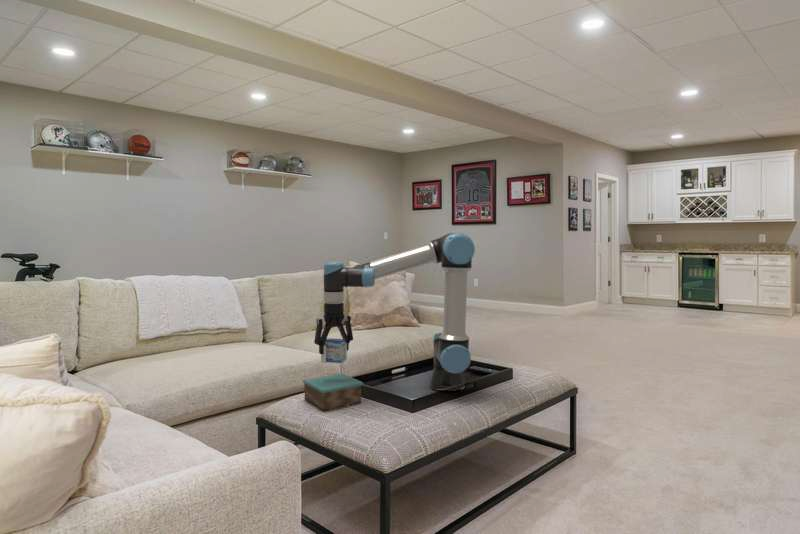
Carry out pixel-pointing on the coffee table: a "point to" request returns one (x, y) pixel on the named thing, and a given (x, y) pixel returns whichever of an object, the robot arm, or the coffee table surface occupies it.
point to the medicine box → (335, 350)
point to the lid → (332, 383)
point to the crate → (332, 397)
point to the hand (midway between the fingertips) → (334, 360)
